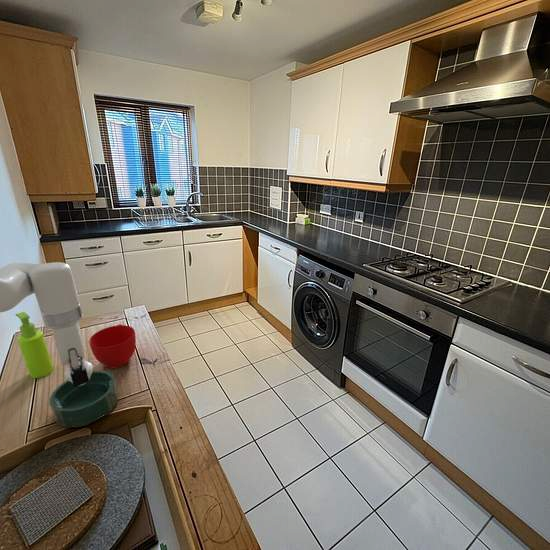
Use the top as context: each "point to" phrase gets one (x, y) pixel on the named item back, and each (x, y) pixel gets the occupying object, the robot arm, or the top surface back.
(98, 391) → the dark green pet bowl
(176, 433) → the top surface
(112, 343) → the red bowl
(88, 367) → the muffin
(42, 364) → the soap dispenser
